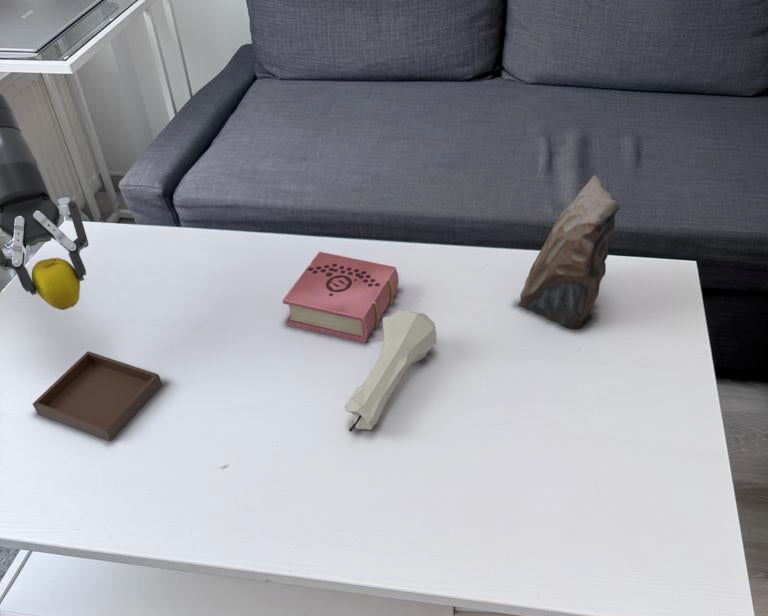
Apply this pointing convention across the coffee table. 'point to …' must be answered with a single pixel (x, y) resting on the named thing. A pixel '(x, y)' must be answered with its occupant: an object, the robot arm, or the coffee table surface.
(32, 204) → the robot arm
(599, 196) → the brown rock
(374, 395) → the faceted club
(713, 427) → the coffee table surface
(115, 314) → the coffee table surface
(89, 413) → the tray
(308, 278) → the book
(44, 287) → the apple
